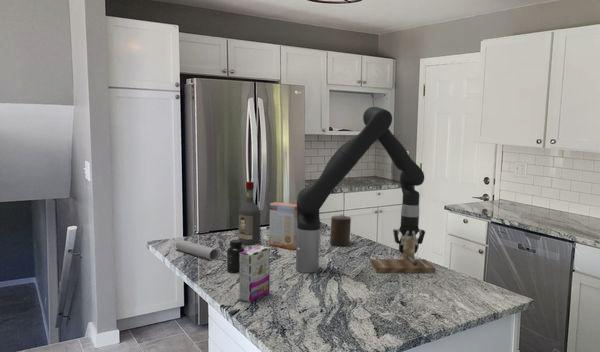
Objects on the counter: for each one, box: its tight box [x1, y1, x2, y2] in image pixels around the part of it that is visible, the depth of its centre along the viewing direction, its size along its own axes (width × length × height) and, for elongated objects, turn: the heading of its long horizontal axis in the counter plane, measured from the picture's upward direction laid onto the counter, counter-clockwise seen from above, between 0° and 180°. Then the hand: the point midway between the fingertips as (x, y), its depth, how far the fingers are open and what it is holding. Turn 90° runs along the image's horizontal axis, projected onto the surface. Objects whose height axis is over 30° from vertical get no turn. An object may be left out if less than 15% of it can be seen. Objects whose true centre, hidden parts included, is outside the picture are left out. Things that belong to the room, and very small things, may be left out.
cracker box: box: [268, 201, 297, 251], centre depth 222 cm, size 14×6×21 cm, turn 58°
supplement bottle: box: [226, 239, 246, 274], centre depth 185 cm, size 7×7×12 cm
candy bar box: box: [239, 245, 271, 303], centre depth 158 cm, size 11×5×16 cm, turn 148°
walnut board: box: [370, 258, 436, 274], centre depth 194 cm, size 24×12×2 cm, turn 94°
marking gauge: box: [400, 234, 417, 265], centre depth 197 cm, size 5×13×12 cm, turn 4°
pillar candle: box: [329, 215, 352, 248], centre depth 229 cm, size 10×10×15 cm
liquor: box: [238, 181, 261, 246], centre depth 227 cm, size 9×9×30 cm
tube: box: [174, 239, 219, 262], centre depth 206 cm, size 5×5×25 cm
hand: (407, 252), depth 202 cm, fingers closed on marking gauge, 5 cm apart
